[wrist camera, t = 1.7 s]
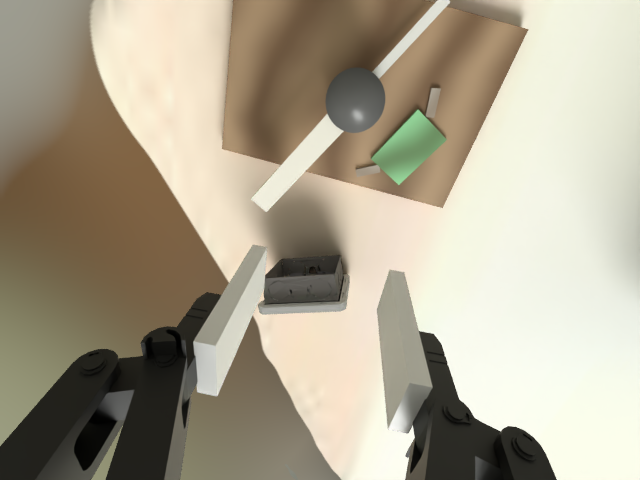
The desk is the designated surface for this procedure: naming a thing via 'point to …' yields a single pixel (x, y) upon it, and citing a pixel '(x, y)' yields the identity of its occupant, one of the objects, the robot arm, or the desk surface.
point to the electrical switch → (305, 286)
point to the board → (398, 81)
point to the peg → (342, 113)
